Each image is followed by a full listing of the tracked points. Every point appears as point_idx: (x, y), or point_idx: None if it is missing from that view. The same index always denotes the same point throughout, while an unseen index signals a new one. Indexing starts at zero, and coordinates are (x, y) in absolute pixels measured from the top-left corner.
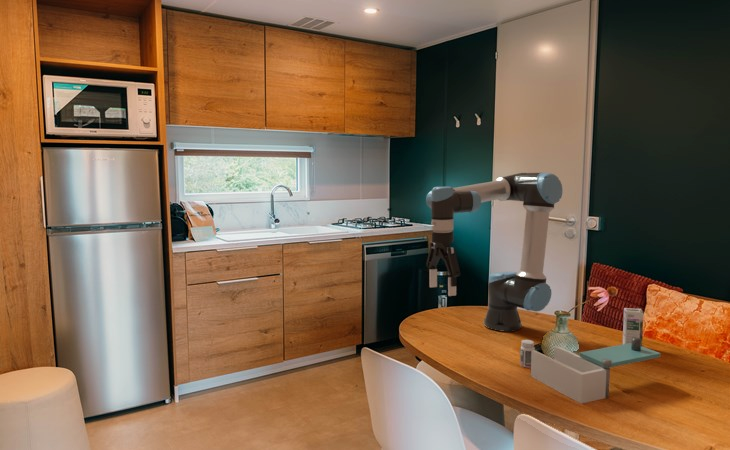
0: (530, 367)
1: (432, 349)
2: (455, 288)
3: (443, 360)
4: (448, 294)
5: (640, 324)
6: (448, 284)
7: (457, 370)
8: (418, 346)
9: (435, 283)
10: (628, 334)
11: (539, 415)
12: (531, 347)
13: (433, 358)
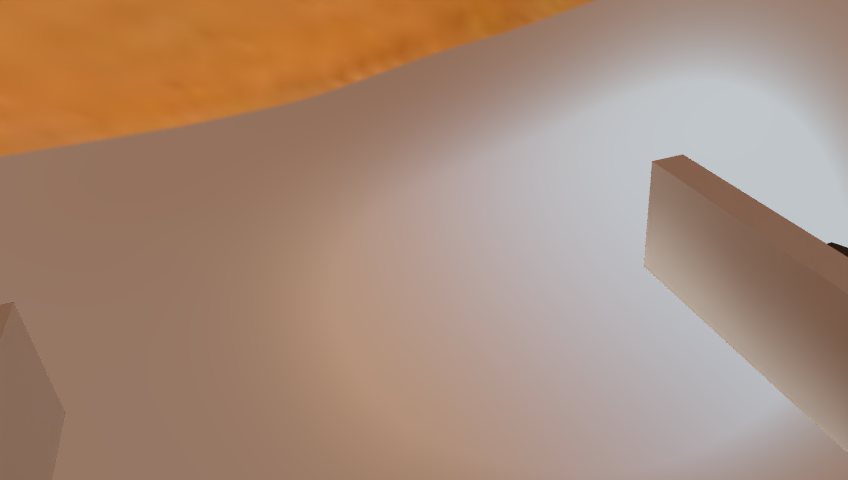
0: None
1: (91, 52)
2: (753, 214)
3: (335, 47)
4: (661, 273)
5: None
6: (764, 365)
7: (512, 19)
8: (5, 139)
9: (11, 374)
10: None
11: None
12: None
13: (284, 102)
